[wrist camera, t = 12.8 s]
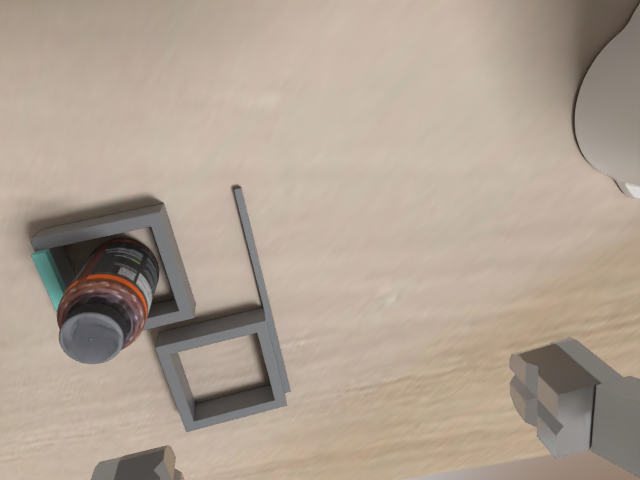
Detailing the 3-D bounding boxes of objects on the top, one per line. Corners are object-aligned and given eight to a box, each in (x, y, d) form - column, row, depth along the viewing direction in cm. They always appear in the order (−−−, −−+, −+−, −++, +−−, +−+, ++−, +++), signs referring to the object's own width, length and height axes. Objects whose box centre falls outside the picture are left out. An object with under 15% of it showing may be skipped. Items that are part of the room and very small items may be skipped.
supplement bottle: (91, 298, 41) (44, 379, 31) (85, 235, 39) (33, 299, 29) (162, 298, 42) (139, 376, 32) (160, 237, 40) (135, 298, 30)
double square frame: (240, 187, 40) (241, 197, 37) (289, 387, 48) (293, 409, 45) (41, 229, 38) (25, 243, 35) (128, 429, 47) (121, 455, 44)
